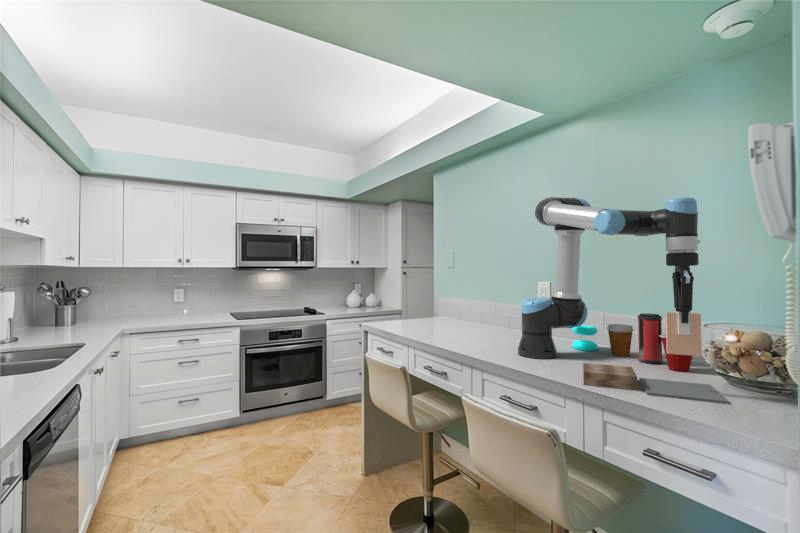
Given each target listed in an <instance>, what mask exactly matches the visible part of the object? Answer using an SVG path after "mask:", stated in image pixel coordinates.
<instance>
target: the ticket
mask: <svg viewBox="0 0 800 533" xmlns="http://www.w3.org/2000/svg"><path fill="white" fill-rule="evenodd" d="M665 330H666V331H665V335H666V346H667V354H677V355H692V357H702V355H703V353H702V352H703V351H702V350H703V348H702V314H701V313H700V312H690V335H681V334H678V312H676V311H675V312H673V311H672V312H671V311H665Z"/></svg>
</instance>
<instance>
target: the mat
mask: <svg viewBox="0 0 800 533" xmlns="http://www.w3.org/2000/svg"><path fill="white" fill-rule="evenodd" d="M638 380H639V382H640V384H641V385H642V388H643V389H644V391H645V394H646V395H647V396H655V397H662V398H673V399H679V400H681V399H682V400H689V401H690V400H691V401H699V402H707V403H715V402H717V403H718V404H724V403H728V404H727V405H730V401H729V400H728V399H727V398H726V397H725V396H723V395H722V394H721V393H720V392H719V391H718V390H717V389H716V388H714V387H713V385H711V384H709V383H708V384H706V383H697V382H696V383H695V382H687V381H676V380H665V379H658V378H657V379H656V378H646V377H638Z"/></svg>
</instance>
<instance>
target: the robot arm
mask: <svg viewBox="0 0 800 533" xmlns="http://www.w3.org/2000/svg"><path fill="white" fill-rule="evenodd" d="M697 203H698V202H697V200H696V198H693V197H678V198H671V199H669V200H666V201H665V203H664V208H662V209H656V210H629V209H628V210H624V209H612V208H603V207H594V206H593V207H592V206H591V204H590V203H589V202H588V201H587V200H586V199H583V198H579V197H553V196H552V197H547V198H544V199H543V200H541V201H539V202H538V204H537V205H536V207H535V210H534V216H535V219H536V220H537V221H538V223H540V224H541V225H543V226H547V227H554V228H553V229H554V232H555V234H557V252H556V270H555V271H556V274H555V275H556V276H555V277H556V278H555V291H554V292H553V293H552V294H551V297H549V296H548V297H547V296H546V297H545V296H541V297H540V296H539V297H532V298H526V299H525V300H523V301H522V303H521V310H520V312H521V333H522V334H521V336H520V337H521V338H520V341H519V344H518V347H517V354H518V355H519V356H520V357H524V358H530V359H542V360H544V359H545V360H546V359H554V358H556V357H557V356H558V351H557V347H556V345H555V341H554V340H553V329H566V328H567V329H572V328H573V327H578V326H581V325H583V324H584V323H585V322H586V320H587V317H588V307H587V304H586V302H584V301H583V300H582V295H580V294H579V275H580V274H579V273H580V272H579V271H580V256H581V253H580V252H581V251H580V250H581V235H583V233H584V232H585V231H586V230H589V231H595V232H598V234H602V235H608V236H613V235H616V236H617V235H629V236H635V237H648V236H653V235H654V236H655V235H662V234H665V252H666V254H665V264H666V266H668V267H674V272H672V276H671V279H672V286H673V288H672V289H673V290H672V291H673V302H674V303H673V306H674V307H673V308H675V312H678V334H681V335H690V313H691V311H692V310H693V294H694V293H693V292H694V291H693V288H694V280H695V276H694V275H693V272H691V268H690V266H692V267H695V266H698V265H699V253H698V252H696V251H698V250H699V244H701V240H699V239H698V238H699V237H698V236H699V234H698V222H699V220H698V218H699V216H698V215H699V212H698V204H697Z"/></svg>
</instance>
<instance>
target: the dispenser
mask: <svg viewBox="0 0 800 533" xmlns="http://www.w3.org/2000/svg"><path fill="white" fill-rule="evenodd" d="M582 369H583V370H582V371H583V373H582V374H583V379H582V380H583V386H584V385H585V386H591V387H601V388H609V389H616V390H617V389H619V390H626V391H635V390H636V391H638V376H637V374H636V372H635V370H634V368H633V367H632V366H625V365H624V366H622V365H613V364H612V365H611V364H602V363H601V364H599V363H589V362H582Z"/></svg>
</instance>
